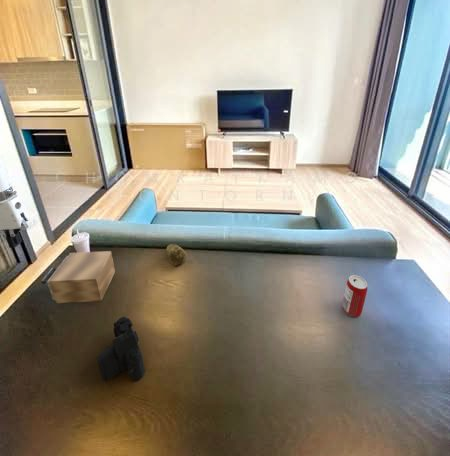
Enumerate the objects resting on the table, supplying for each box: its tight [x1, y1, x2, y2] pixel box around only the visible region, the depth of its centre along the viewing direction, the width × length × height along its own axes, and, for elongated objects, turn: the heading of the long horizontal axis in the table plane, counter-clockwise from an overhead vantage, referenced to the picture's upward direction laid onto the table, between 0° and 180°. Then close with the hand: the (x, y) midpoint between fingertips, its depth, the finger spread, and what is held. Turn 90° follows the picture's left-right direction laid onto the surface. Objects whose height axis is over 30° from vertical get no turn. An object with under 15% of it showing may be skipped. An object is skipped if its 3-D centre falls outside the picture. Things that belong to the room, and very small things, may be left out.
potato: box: [165, 243, 188, 268], centre depth 97 cm, size 8×13×8 cm, turn 9°
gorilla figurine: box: [96, 316, 146, 383], centre depth 64 cm, size 15×10×9 cm, turn 36°
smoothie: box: [70, 228, 91, 253], centre depth 99 cm, size 6×6×14 cm
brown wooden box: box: [48, 250, 116, 304], centre depth 86 cm, size 15×13×10 cm
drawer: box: [40, 255, 68, 301], centre depth 86 cm, size 18×11×8 cm, turn 93°
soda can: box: [341, 274, 368, 318], centre depth 77 cm, size 6×6×12 cm
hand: (15, 244), depth 80 cm, fingers closed
